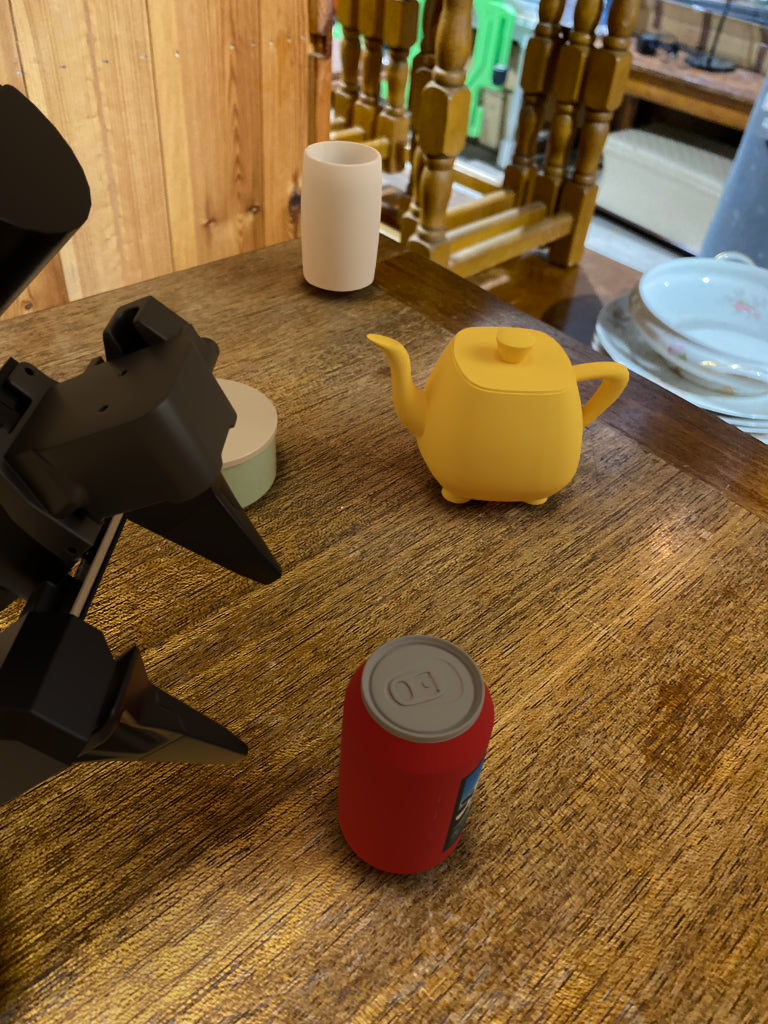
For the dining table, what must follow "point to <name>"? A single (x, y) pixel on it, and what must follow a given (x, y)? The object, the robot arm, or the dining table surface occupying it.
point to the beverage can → (411, 752)
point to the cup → (340, 214)
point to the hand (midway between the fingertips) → (260, 658)
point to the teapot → (500, 412)
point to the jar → (249, 443)
